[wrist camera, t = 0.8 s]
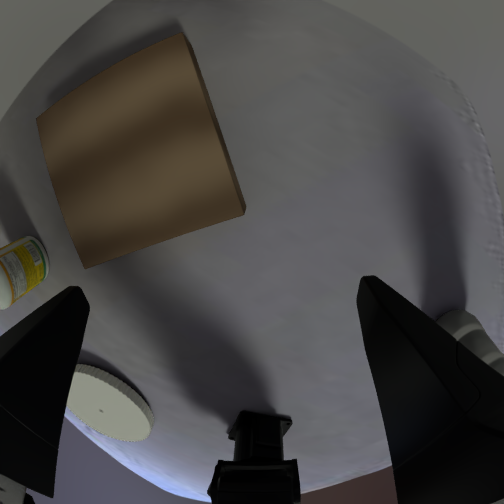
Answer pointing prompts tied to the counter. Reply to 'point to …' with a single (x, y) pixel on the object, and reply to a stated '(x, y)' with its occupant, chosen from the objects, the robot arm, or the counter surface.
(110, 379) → the plastic lid
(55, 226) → the counter surface
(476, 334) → the plastic bottle
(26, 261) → the supplement bottle
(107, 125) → the walnut plinth
